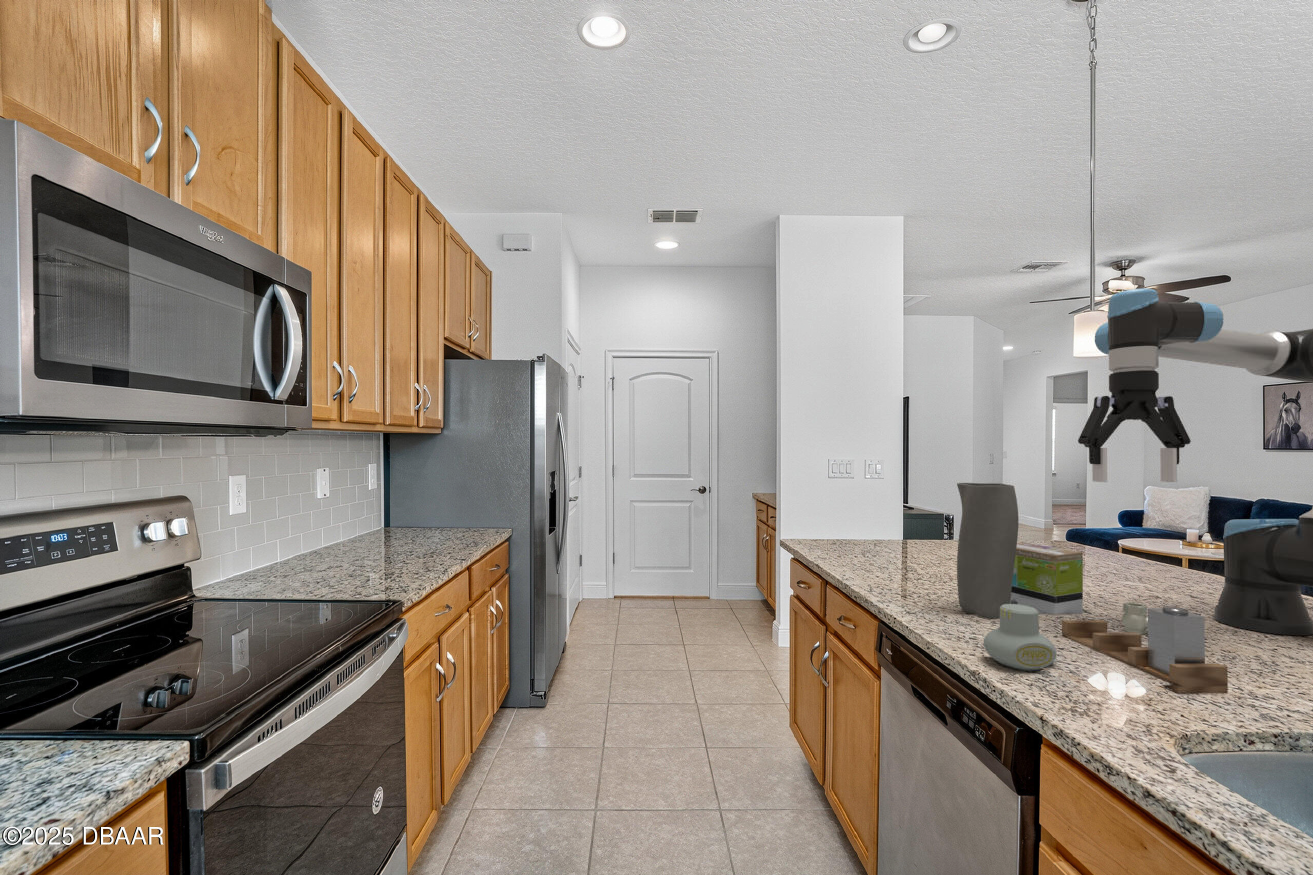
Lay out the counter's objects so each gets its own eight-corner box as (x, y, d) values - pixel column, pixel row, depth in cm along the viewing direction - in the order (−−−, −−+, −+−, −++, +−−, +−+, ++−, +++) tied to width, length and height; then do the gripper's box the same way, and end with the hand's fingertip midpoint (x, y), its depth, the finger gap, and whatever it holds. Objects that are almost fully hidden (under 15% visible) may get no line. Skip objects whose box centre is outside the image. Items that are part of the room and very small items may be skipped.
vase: (1005, 610, 141) (1004, 482, 142) (1028, 625, 129) (1027, 486, 130) (949, 608, 143) (948, 482, 144) (966, 622, 131) (965, 485, 132)
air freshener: (1034, 656, 110) (1034, 601, 110) (1066, 673, 102) (1065, 614, 102) (975, 656, 110) (975, 601, 110) (1002, 673, 102) (1002, 614, 102)
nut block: (1177, 667, 101) (1176, 604, 101) (1205, 679, 96) (1204, 612, 96) (1148, 668, 101) (1147, 604, 101) (1174, 679, 96) (1174, 612, 96)
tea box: (994, 603, 148) (994, 543, 148) (1022, 599, 152) (1021, 541, 152) (1056, 620, 134) (1055, 553, 134) (1084, 615, 138) (1084, 550, 138)
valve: (1120, 638, 121) (1200, 652, 113) (1119, 605, 121) (1200, 617, 113) (1124, 631, 126) (1201, 644, 117) (1124, 599, 126) (1201, 610, 117)
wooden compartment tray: (1101, 640, 119) (1101, 620, 119) (1227, 692, 94) (1227, 666, 94) (1062, 640, 119) (1062, 620, 119) (1178, 693, 94) (1177, 667, 94)
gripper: (1178, 374, 120) (1179, 480, 119) (1056, 373, 119) (1057, 480, 119) (1214, 369, 112) (1216, 483, 112) (1084, 368, 111) (1085, 482, 111)
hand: (1134, 482), depth 115 cm, fingers open, 13 cm apart
